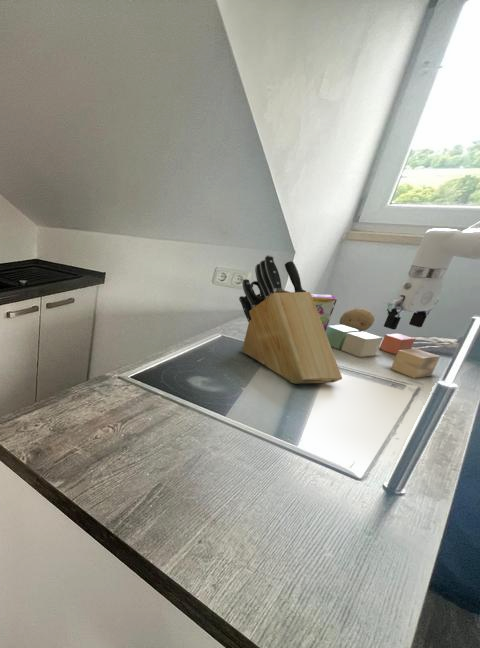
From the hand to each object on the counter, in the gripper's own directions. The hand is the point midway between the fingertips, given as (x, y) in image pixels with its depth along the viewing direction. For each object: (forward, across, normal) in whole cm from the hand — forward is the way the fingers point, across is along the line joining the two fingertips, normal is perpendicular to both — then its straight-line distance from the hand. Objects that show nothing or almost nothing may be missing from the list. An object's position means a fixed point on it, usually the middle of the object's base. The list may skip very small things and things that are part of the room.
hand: (402, 326), depth 122 cm
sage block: (+8, -12, +8) cm, 16 cm away
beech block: (+8, -12, -14) cm, 20 cm away
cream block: (+8, -12, +1) cm, 14 cm away
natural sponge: (+8, +1, +15) cm, 17 cm away
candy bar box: (+9, -21, +14) cm, 26 cm away
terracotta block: (+8, 0, 0) cm, 8 cm away
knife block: (+9, -43, +1) cm, 44 cm away
